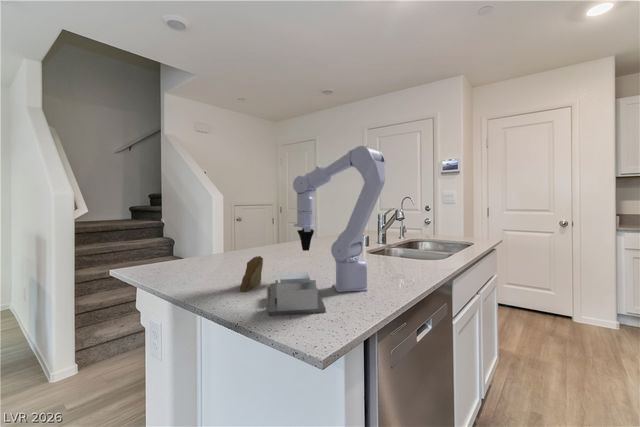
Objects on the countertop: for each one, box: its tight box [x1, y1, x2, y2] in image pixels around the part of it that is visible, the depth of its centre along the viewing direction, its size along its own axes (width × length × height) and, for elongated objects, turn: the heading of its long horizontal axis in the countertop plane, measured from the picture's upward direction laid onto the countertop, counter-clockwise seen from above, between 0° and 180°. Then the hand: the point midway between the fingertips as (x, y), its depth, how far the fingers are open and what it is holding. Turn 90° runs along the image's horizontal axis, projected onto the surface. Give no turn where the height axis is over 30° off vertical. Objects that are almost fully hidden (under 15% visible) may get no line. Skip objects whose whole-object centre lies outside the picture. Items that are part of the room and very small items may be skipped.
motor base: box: [268, 279, 327, 317], centre depth 88 cm, size 14×25×6 cm, turn 8°
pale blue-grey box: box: [279, 271, 317, 286], centre depth 86 cm, size 10×9×5 cm
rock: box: [239, 255, 264, 292], centre depth 99 cm, size 11×9×10 cm
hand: (305, 250), depth 106 cm, fingers closed
